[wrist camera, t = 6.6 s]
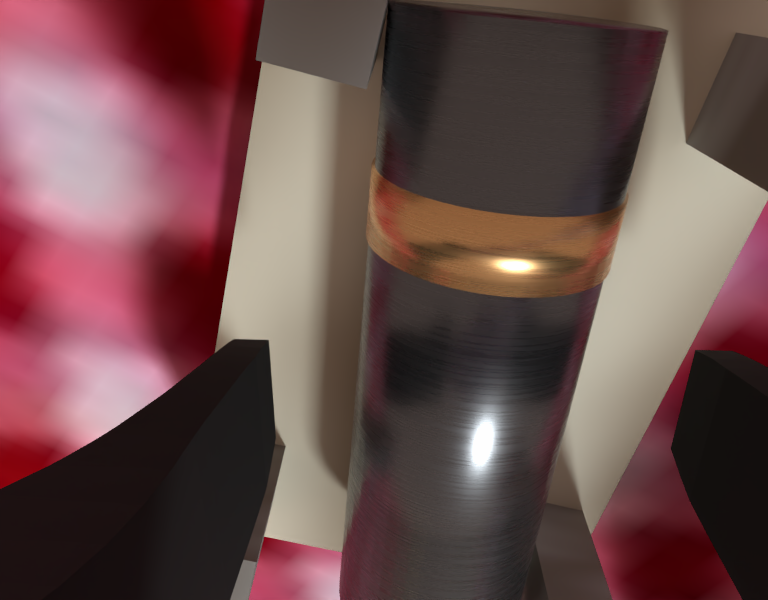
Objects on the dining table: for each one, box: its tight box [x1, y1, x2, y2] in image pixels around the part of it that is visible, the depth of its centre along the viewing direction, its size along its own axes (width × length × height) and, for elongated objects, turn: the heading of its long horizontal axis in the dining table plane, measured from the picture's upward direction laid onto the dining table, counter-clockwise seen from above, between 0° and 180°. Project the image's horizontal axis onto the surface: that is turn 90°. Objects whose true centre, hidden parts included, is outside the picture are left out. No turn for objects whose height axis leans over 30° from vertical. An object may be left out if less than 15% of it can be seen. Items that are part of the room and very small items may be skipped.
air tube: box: [339, 0, 668, 600], centre depth 12 cm, size 12×4×4 cm, turn 175°
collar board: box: [215, 0, 768, 600], centre depth 13 cm, size 10×15×4 cm, turn 166°
